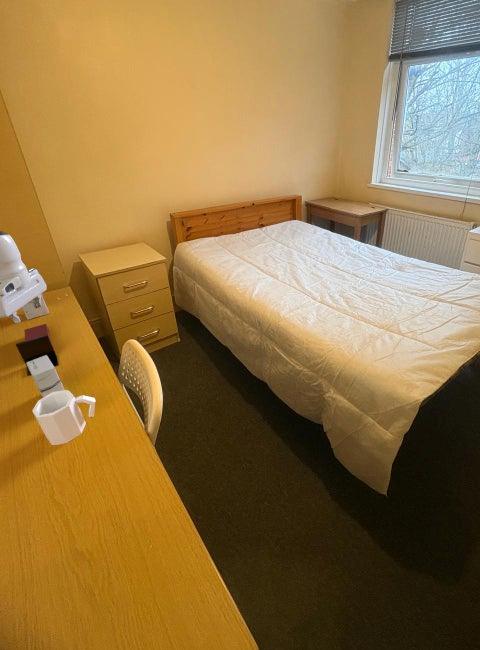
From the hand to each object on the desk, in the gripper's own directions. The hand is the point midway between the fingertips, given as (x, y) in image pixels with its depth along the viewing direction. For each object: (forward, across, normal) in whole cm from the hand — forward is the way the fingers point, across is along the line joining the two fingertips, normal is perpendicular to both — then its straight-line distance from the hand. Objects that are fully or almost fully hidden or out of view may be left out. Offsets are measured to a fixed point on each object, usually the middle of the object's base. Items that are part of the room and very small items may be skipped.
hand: (29, 314), depth 111 cm
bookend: (+10, +15, +11) cm, 22 cm away
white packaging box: (+10, -16, -12) cm, 23 cm away
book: (+10, +4, +3) cm, 11 cm away
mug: (+10, +39, +35) cm, 54 cm away
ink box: (+10, +29, +23) cm, 39 cm away
